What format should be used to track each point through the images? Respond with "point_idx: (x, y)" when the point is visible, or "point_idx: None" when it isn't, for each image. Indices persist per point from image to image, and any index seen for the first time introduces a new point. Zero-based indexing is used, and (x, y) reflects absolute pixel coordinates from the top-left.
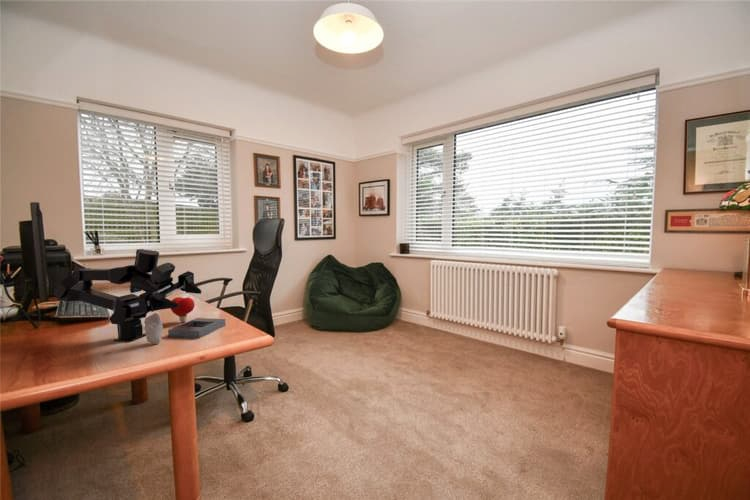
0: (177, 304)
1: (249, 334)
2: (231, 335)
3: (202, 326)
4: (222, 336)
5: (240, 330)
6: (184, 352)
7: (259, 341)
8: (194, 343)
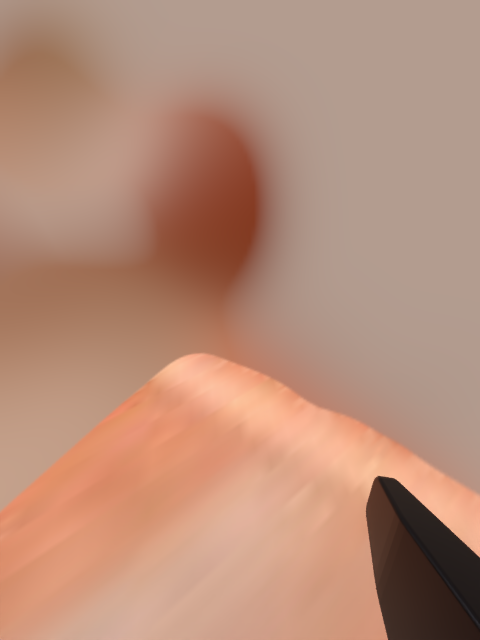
0: (389, 478)
1: (133, 427)
2: (137, 494)
3: None
4: (148, 532)
5: (62, 501)
6: None
7: (211, 359)
8: (273, 628)
